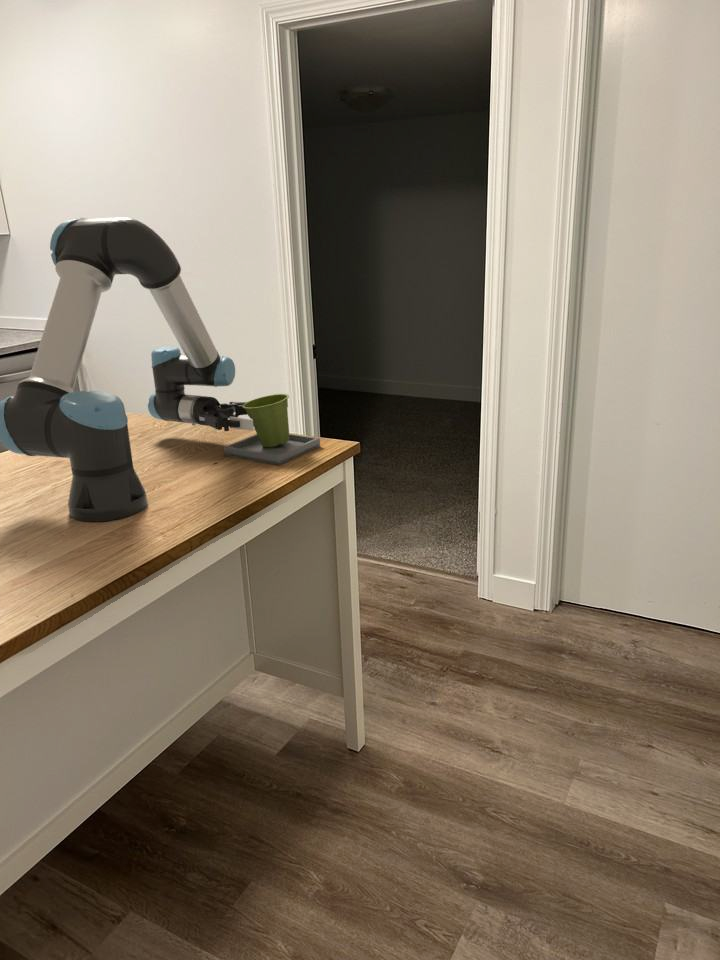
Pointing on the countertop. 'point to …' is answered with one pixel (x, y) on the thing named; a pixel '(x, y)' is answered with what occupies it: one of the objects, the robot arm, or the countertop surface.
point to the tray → (272, 449)
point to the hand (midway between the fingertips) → (268, 418)
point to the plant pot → (270, 418)
